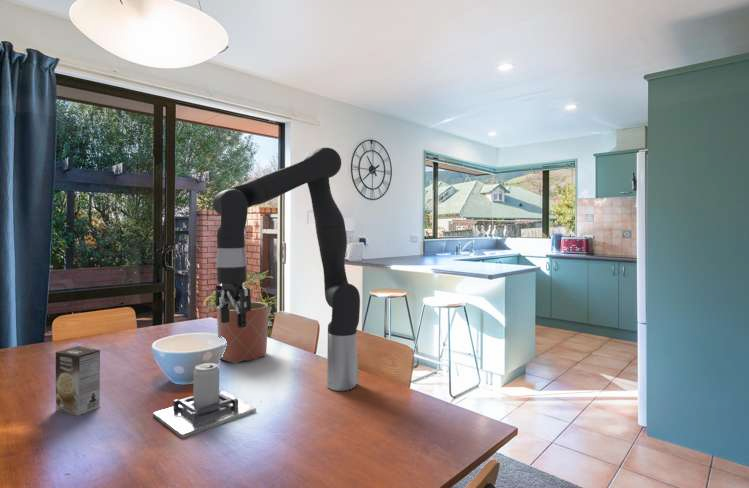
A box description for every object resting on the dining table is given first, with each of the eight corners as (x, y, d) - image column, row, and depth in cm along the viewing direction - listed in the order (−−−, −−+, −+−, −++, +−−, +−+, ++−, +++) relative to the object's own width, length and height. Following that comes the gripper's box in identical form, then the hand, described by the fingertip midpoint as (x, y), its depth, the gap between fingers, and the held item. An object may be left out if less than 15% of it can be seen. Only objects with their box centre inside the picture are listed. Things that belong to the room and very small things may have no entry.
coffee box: (54, 411, 111) (53, 351, 110) (78, 401, 117) (77, 345, 116) (78, 416, 108) (77, 355, 107) (101, 406, 114) (101, 349, 113)
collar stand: (224, 394, 123) (224, 381, 123) (256, 411, 112) (256, 397, 112) (153, 416, 108) (153, 402, 108) (182, 438, 97) (182, 422, 97)
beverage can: (210, 416, 107) (210, 370, 106) (188, 414, 108) (188, 368, 107) (223, 406, 113) (224, 363, 112) (202, 404, 114) (202, 361, 114)
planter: (252, 346, 174) (252, 299, 174) (277, 356, 161) (277, 306, 161) (208, 356, 161) (208, 305, 160) (231, 367, 147) (231, 312, 147)
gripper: (258, 265, 108) (260, 326, 109) (230, 262, 118) (232, 318, 118) (232, 267, 102) (234, 332, 103) (205, 264, 112) (207, 323, 113)
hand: (233, 324), depth 111 cm, fingers open, 8 cm apart
